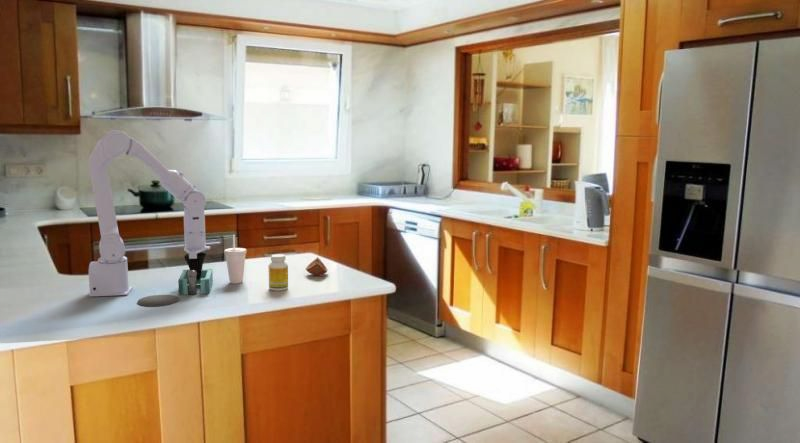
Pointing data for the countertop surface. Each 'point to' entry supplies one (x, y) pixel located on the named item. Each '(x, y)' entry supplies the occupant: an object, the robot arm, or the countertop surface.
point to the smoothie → (235, 263)
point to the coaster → (158, 300)
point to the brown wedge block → (316, 267)
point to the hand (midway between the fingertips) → (196, 278)
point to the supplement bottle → (278, 273)
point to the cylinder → (192, 282)
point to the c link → (204, 280)
